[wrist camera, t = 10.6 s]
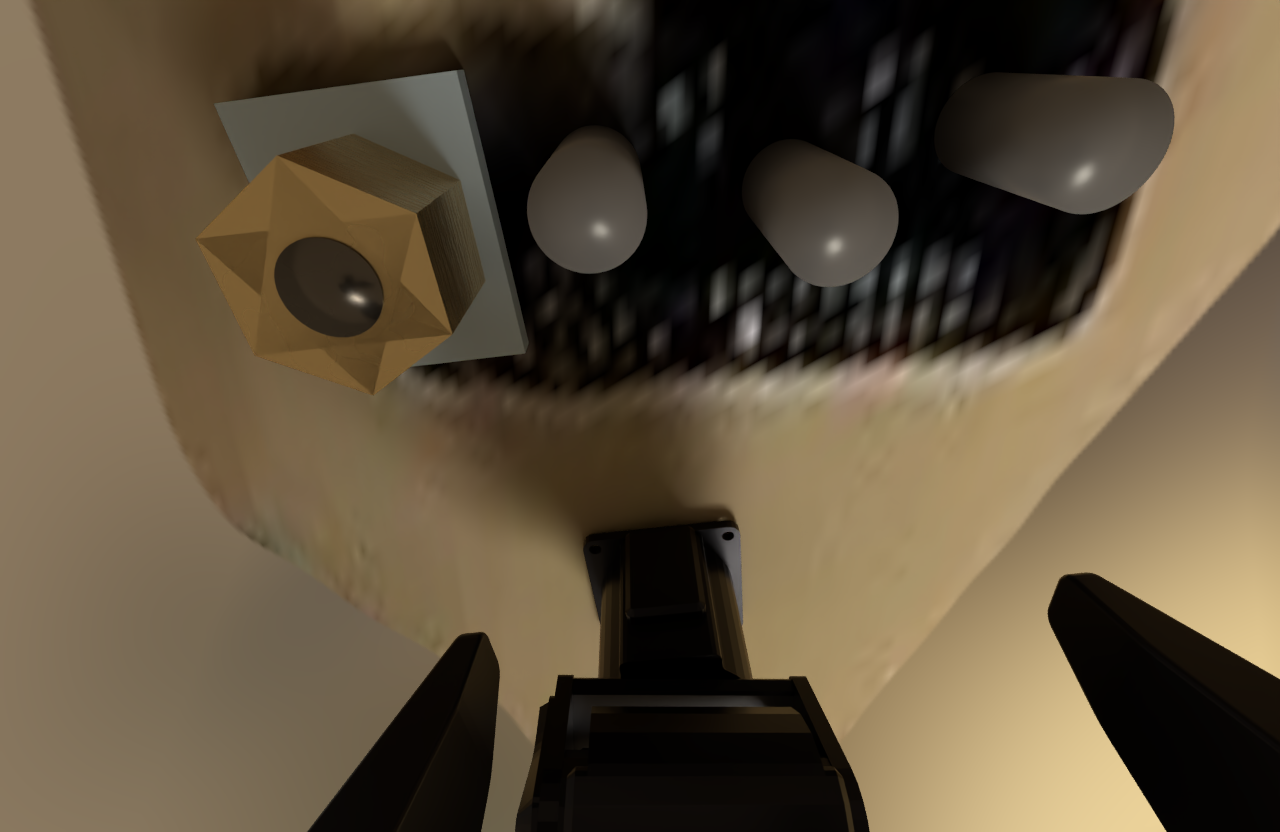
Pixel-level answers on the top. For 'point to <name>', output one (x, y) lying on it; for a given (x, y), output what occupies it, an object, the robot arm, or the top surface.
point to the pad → (421, 130)
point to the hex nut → (346, 261)
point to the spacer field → (860, 200)
